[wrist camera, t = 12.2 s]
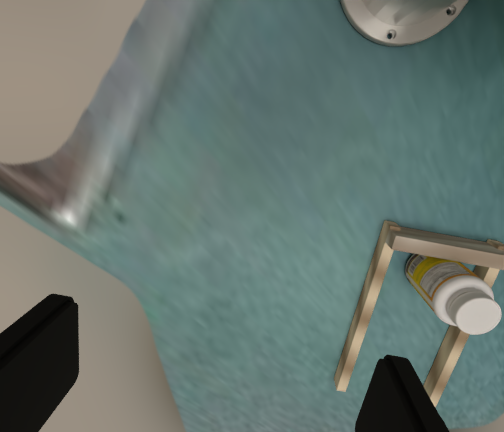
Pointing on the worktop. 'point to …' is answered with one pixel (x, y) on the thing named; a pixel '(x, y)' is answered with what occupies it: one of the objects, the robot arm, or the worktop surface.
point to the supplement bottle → (454, 293)
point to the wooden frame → (391, 238)
